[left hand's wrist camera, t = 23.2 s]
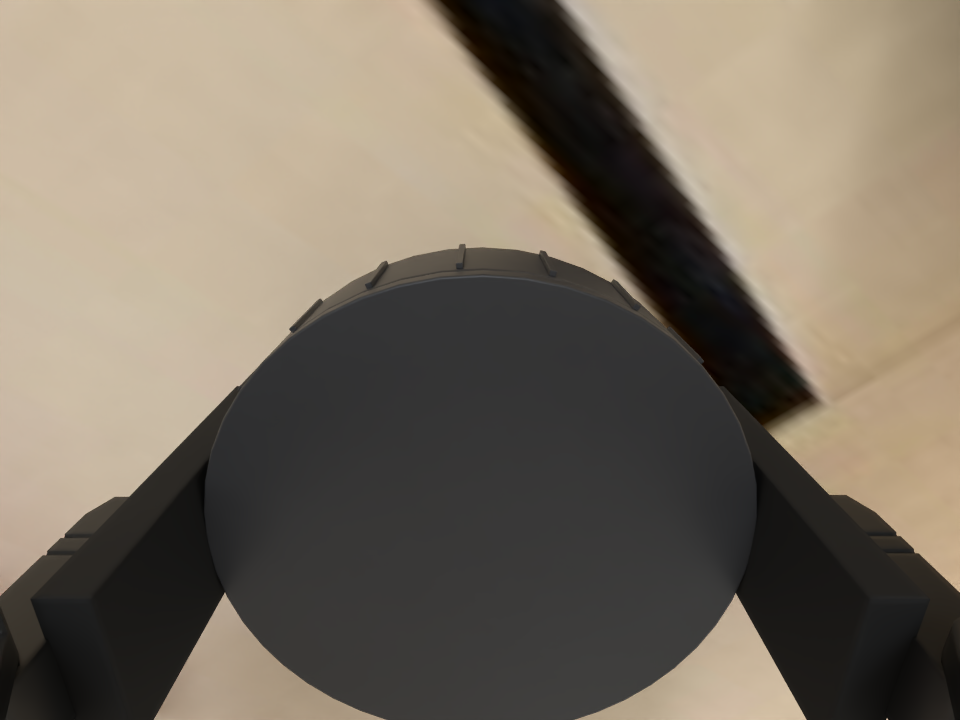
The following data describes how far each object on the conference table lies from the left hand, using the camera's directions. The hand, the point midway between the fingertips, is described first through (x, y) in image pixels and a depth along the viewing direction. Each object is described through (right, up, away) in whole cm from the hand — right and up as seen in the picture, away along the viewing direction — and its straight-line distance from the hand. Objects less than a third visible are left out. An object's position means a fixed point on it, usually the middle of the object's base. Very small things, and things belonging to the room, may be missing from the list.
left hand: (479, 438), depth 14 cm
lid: (0, -1, -3) cm, 3 cm away
